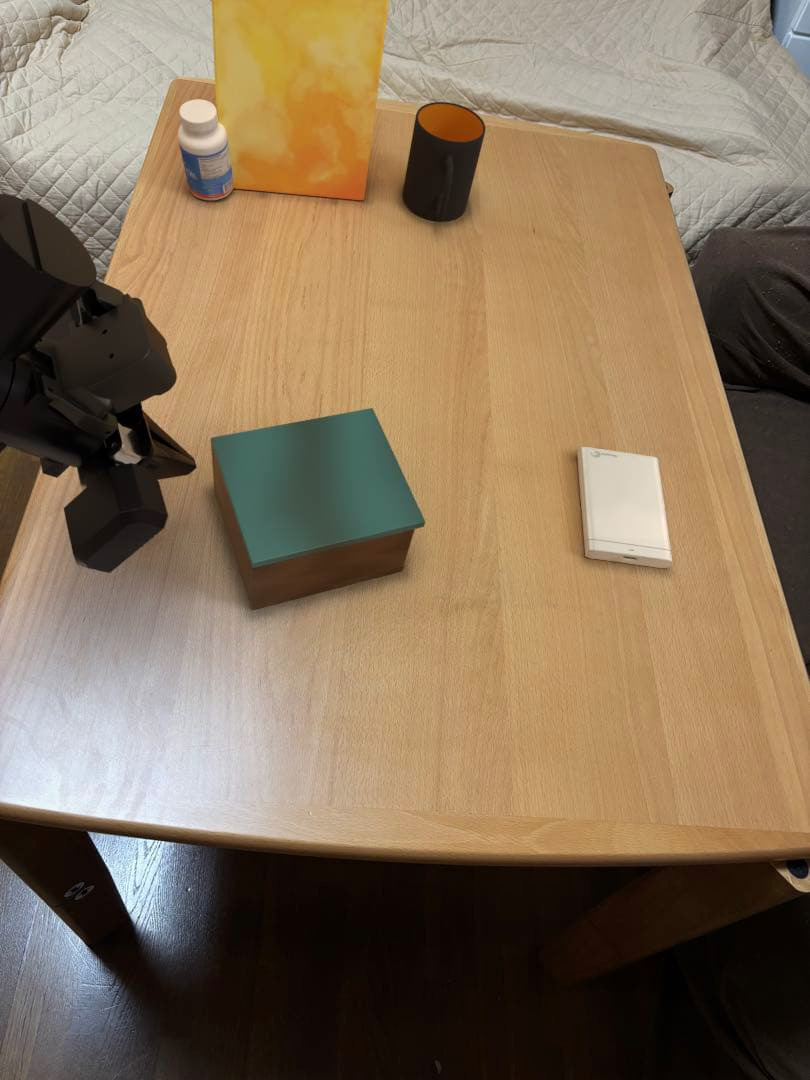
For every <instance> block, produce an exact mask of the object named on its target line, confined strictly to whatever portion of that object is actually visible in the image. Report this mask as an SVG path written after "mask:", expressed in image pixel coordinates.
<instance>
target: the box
mask: <svg viewBox="0 0 810 1080" xmlns="http://www.w3.org/2000/svg"><path fill="white" fill-rule="evenodd" d="M210 450H211V462H212V476H213V478H212V479H213V492H214V495H215V498H216V502H217V505H218V508H219V510H220V513H221V517H222V520H223V523H224V526H225V530H226V533H227V536H228V538H229V542H230V545H231V548H232V551H233V555H234V557H235V560H236V564H237V567H238V570H239V573H240V576H241V578H242V583H243V587H244V588H245V592H246V596H247V599H248V602H249V604H250V607H251V610H252V611H255V610H259V609H262V608H266V607H269V606H273V605H278V604H280V603H281V604H282V603H285V602H289V601H292V600H293V601H294V600H297V599H301V598H304V597H307V596H311V595H316V594H319V593H324V592H327V591H331V590H334V589H339V588H342V587H346V586H350V585H354V584H358V583H362V582H365V581H370V580H373V579H377V578H381V577H384V576H388V575H392V574H396V573H399V572H403V570H404V567H405V563H406V560H407V556H408V552H409V550H410V546H411V543H412V541H413V537H414V534H415V530H416V529H413V530H409V531H405V532H401V533H397V534H392V535H388V536H384V537H380V538H376V539H372V540H368V541H363V542H359V543H355V544H351V545H347V546H343V547H339V548H335V549H330V550H326V551H322V552H318V553H314V554H310V555H306V556H301V557H297V558H293V559H289V560H285V561H281V562H277V563H273V564H268V565H264V566H260V567H256V568H252V567H251V564H250V561H249V558H248V555H247V552H246V549H245V546H244V543H243V540H242V536H241V533H240V530H239V527H238V524H237V521H236V518H235V515H234V512H233V509H232V506H231V503H230V500H229V497H228V494H227V491H226V488H225V485H224V482H223V479H222V476H221V473H220V470H219V467H218V464H217V460H216V457H215V454H214V451H213V448H212V445H211V444H210Z"/></svg>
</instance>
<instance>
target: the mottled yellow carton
mask: <svg viewBox="0 0 810 1080" xmlns="http://www.w3.org/2000/svg"><path fill="white" fill-rule="evenodd" d="M389 8H390V0H211V17H212V19H211V20H212V45H213V65H214V66H213V67H214V68H213V69H214V91H215V107H216V110H217V115H218V123H220V124H222V125H223V126H224V128H225V130H226V133H227V139H228V146H229V153H230V160H231V167H232V173H233V179H234V186H233V189H234V190H244V191H245V190H246V191H255V192H266V193H275V194H276V193H277V194H287V195H298V196H309V197H319V198H329V199H330V198H331V199H342V200H351V201H364V200H365V196H366V188H367V180H368V172H369V164H370V157H371V156H370V155H371V149H372V142H373V141H372V140H373V132H374V124H375V117H376V109H377V103H378V102H377V101H378V92H379V86H380V77H381V70H382V61H383V55H384V45H385V38H386V31H387V23H388V14H389ZM233 189H232V190H233Z"/></svg>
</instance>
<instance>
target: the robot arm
mask: <svg viewBox="0 0 810 1080" xmlns="http://www.w3.org/2000/svg"><path fill="white" fill-rule="evenodd" d="M97 273H98V271H97V268H96V264H95V262H94V259H93V258H92V256H91V254H90V252H89V251H88V249H87V248H86V247H85V245H84V243H82V241H81V240H80V239H79V237H78V236H77V235H76V234H75V233H74V232H73V231H72V230H71V229H70V228H69V226H67V225H66V224H65V223H64V222H63V221H62V220H61V219H59V218H58V217H57V216H56V215H55V214H54V213H52V212H51V211H50V210H48V209H47V208H45V207H44V206H42V204H39V203H38V202H36V201H35V200H33V199H31V198H28V197H27V198H25V199H23V198H20V197H19V196H16V195H13V194H7V193H0V454H1V453H2V452H3V451H4V450H5V449H6V448H10V449H12V450H15V451H19V452H21V453H24V454H28V455H31V456H33V457H36V458H39V462H40V467H41V472H42V474H43V475H47V476H49V477H53V478H56V479H58V478H59V477H60V476H61V475H62V474H63V473H64V472H66V470H67V469H69V468H70V467H73V468H76V471H77V476H78V479H79V484H80V489H81V492H80V493H78V494H77V495H76V496H75V497H74V498H73V499H72V500H71V501H70V502H68V503H67V504H66V505H65V506H64V507H63V513H64V517H65V523H66V527H67V532H68V536H69V537H68V538H69V541H70V546H71V552H72V555H73V558H74V561H75V564H76V566H80V567H82V568H85V569H90V570H94V571H98V572H104V573H108V574H111V573H113V571H115V570H116V569H117V568H118V567H120V566H121V565H122V564H124V562H125V561H127V560H128V559H129V558H130V557H131V556H132V555H134V554H135V553H137V551H139V550H140V549H141V548H142V547H144V546H145V545H146V544H147V543H148V542H149V541H151V540H153V538H154V537H156V536H157V535H158V534H160V533H161V532H162V531H163V530H165V527H166V524H167V521H168V517H169V514H168V510H167V506H166V502H165V499H164V496H163V492H162V488H161V485H160V482H159V481H160V480H166V479H172V478H178V477H185V476H188V475H190V474H192V472H194V471H195V470H196V469H197V463H196V459H195V458H194V457H193V455H191V454H190V452H188V451H187V450H186V449H185V448H184V447H183V446H181V445H180V444H179V443H178V442H177V441H176V440H175V439H174V438H173V437H171V436H170V435H169V434H168V433H167V431H165V430H164V429H163V428H162V427H161V426H160V425H159V424H157V423H156V422H155V421H154V419H152V417H151V416H149V414H148V413H147V412H145V410H144V409H143V405H142V402H144V401H147V400H148V399H151V398H153V397H155V396H162V395H164V394H166V393H168V392H169V391H170V390H172V389H173V387H175V384H176V383H177V379H178V375H177V371H176V368H175V366H174V365H173V361H172V359H171V355H170V352H169V349H168V343H167V339H166V338H165V336H163V335H162V333H161V332H160V331H159V330H158V329H157V327H156V326H155V325H154V323H153V322H152V321H151V320H150V319H149V317H148V315H147V313H146V309H145V306H144V303H143V300H142V299H140V298H139V297H132V296H131V295H130V294H129V293H128V292H127V293H123V291H121V290H120V289H118V288H116V287H114V286H111V285H109V284H107V283H104V282H102V281H100V280H97V279H98V278H97V277H98V275H97Z"/></svg>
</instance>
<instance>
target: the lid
mask: <svg viewBox="0 0 810 1080" xmlns="http://www.w3.org/2000/svg"><path fill="white" fill-rule="evenodd" d="M211 445H212V448H213V451H214V454H215V457H216V460H217V464H218V467H219V470H220V473H221V476H222V479H223V482H224V485H225V488H226V491H227V494H228V497H229V500H230V503H231V506H232V509H233V512H234V515H235V518H236V521H237V524H238V527H239V530H240V533H241V536H242V540H243V543H244V546H245V549H246V552H247V555H248V558H249V561H250V564H251V567H252V568H256V567H260V566H264V565H268V564H273V563H277V562H281V561H285V560H289V559H293V558H297V557H301V556H306V555H310V554H314V553H318V552H322V551H326V550H330V549H335V548H339V547H343V546H347V545H351V544H355V543H359V542H363V541H368V540H372V539H376V538H380V537H384V536H388V535H392V534H397V533H401V532H405V531H409V530H413V529H415V530H416V529H421V528H424V527H425V525H426V520H425V518H424V515H423V513H422V511H421V508H420V507H419V505H418V503H417V501H416V498H415V496H414V494H413V492H412V490H411V488H410V486H409V483H408V481H407V479H406V476H405V474H404V472H403V470H402V468H401V466H400V464H399V462H398V460H397V457H396V455H395V452H394V451H393V449H392V447H391V444H390V441H389V440H388V438H387V436H386V433H385V432H384V429H383V427H382V425H381V423H380V420H379V418H378V416H377V414H376V412H375V410H374V408H373V407H370V408H364V409H359V410H353V411H349V412H344V413H337V414H332V415H326V416H321V417H316V418H310V419H304V420H300V421H299V420H298V421H295V422H294V421H293V422H289V423H283V424H279V425H272V426H268V427H261V428H257V429H256V428H255V429H250V430H245V431H240V432H235V433H229V434H224V435H217V436H213V437H210V446H211Z"/></svg>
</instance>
